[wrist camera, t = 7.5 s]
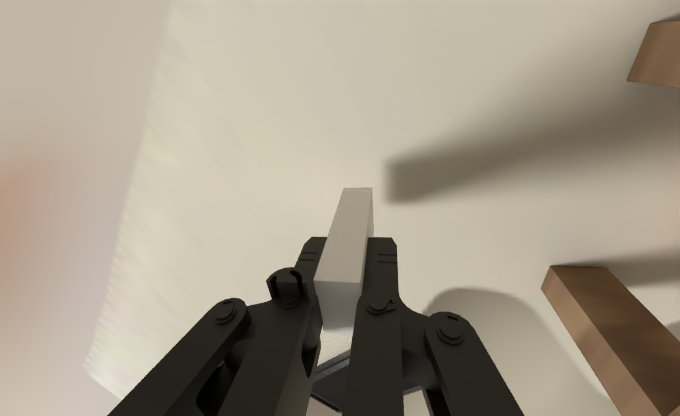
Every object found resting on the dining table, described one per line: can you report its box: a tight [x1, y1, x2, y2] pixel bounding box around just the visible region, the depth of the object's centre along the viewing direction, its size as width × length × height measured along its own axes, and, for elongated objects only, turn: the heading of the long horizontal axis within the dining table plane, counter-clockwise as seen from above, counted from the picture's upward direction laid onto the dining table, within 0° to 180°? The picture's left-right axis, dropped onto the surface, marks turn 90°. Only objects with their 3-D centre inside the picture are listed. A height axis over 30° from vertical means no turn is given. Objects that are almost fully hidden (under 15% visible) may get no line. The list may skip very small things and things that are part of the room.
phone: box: [310, 349, 422, 413], centre depth 26 cm, size 8×1×15 cm
